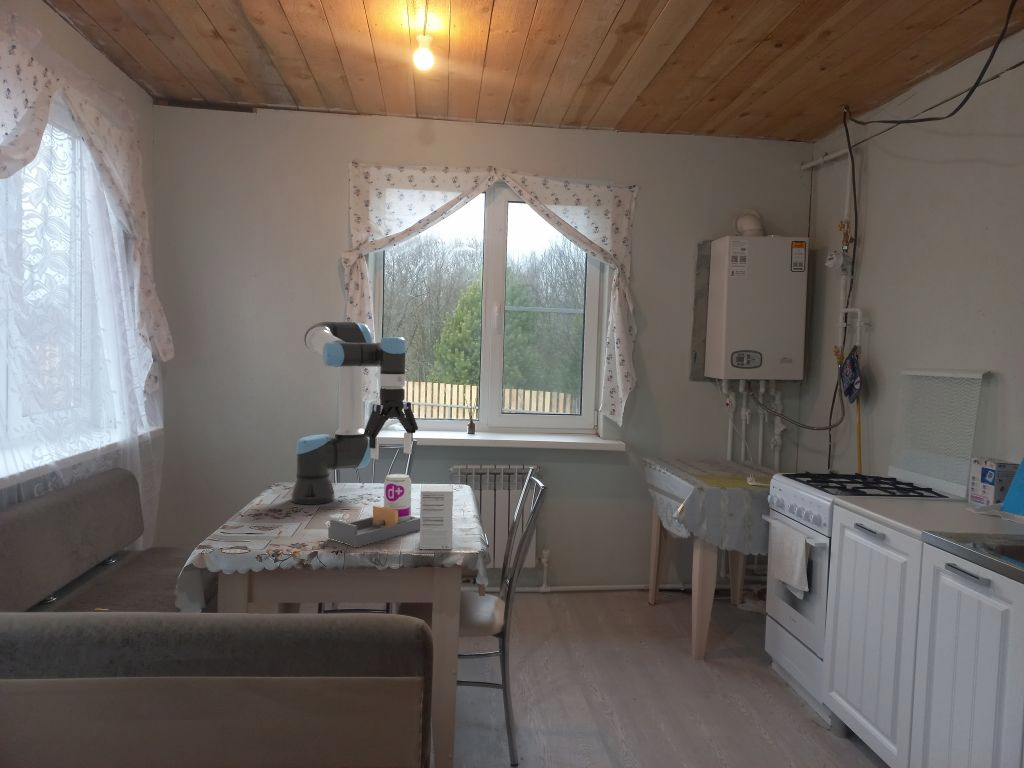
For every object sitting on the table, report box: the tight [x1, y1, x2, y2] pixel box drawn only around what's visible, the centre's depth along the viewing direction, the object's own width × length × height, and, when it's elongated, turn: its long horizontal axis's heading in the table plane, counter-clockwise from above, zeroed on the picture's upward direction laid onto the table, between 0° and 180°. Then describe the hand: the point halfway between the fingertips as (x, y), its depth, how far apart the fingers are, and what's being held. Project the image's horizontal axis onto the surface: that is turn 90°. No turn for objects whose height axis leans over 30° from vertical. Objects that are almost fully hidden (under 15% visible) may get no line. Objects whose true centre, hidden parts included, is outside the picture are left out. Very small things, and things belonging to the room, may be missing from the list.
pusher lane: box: [327, 515, 420, 548], centre depth 206 cm, size 12×26×6 cm, turn 143°
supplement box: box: [419, 483, 454, 550], centre depth 196 cm, size 10×9×17 cm
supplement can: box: [383, 473, 412, 523], centre depth 212 cm, size 8×8×15 cm
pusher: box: [372, 504, 398, 528], centre depth 207 cm, size 10×4×6 cm, turn 53°
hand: (391, 456), depth 211 cm, fingers open, 13 cm apart
